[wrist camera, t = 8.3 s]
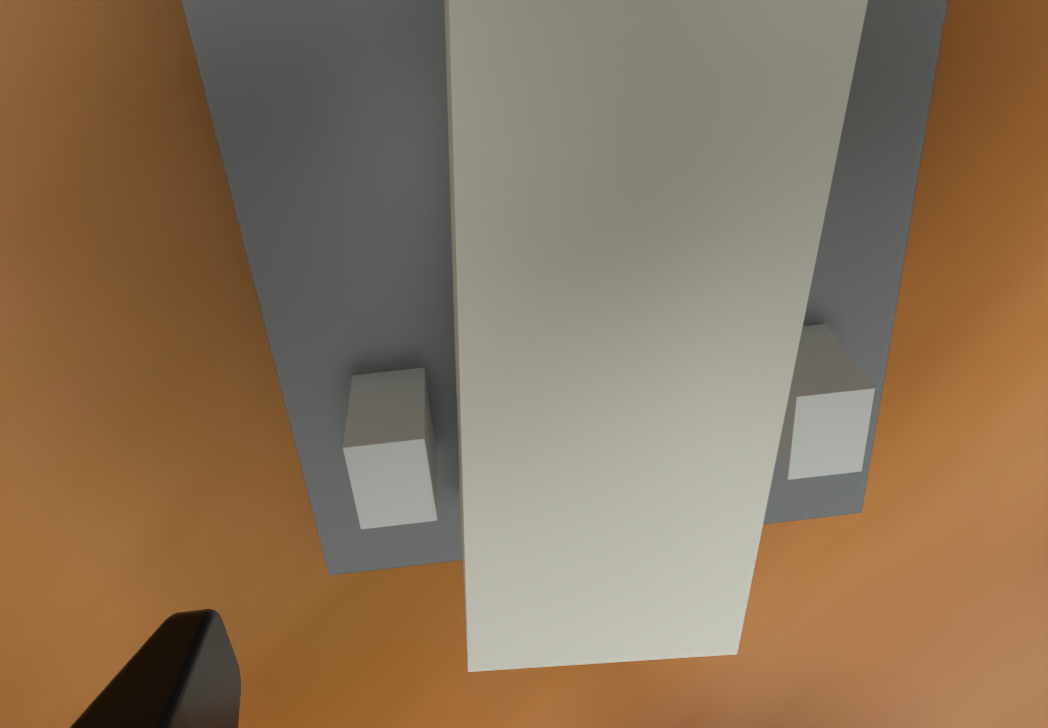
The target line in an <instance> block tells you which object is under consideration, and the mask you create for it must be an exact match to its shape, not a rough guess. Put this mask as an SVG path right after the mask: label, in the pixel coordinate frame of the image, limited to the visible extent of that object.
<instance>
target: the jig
mask: <svg viewBox="0 0 1048 728" xmlns="http://www.w3.org/2000/svg"><path fill="white" fill-rule="evenodd" d="M181 1H182V5H183V9H184V13H185V17H186V21H187V24H188V28H189V32H190V36H191V40H192V44H193V48H194V52H195V56H196V60H197V63H198V67H199V71H200V75H201V79H202V83H203V87H204V91H205V95H206V99H207V102H208V106H209V110H210V114H211V118H212V122H213V126H214V130H215V134H216V138H217V141H218V145H219V149H220V153H221V157H222V161H223V165H224V169H225V173H226V176H227V180H228V184H229V188H230V192H231V196H232V200H233V204H234V208H235V212H236V215H237V219H238V223H239V227H240V231H241V235H242V239H243V243H244V247H245V251H246V254H247V258H248V262H249V266H250V270H251V274H252V278H253V282H254V286H255V290H256V293H257V297H258V301H259V305H260V309H261V313H262V317H263V321H264V325H265V328H266V332H267V336H268V340H269V344H270V348H271V352H272V356H273V360H274V364H275V367H276V371H277V375H278V379H279V383H280V387H281V391H282V395H283V399H284V403H285V406H286V410H287V414H288V418H289V422H290V426H291V430H292V434H293V438H294V442H295V445H296V449H297V453H298V457H299V461H300V465H301V469H302V473H303V477H304V480H305V484H306V488H307V492H308V496H309V500H310V504H311V508H312V512H313V516H314V519H315V523H316V527H317V531H318V535H319V539H320V543H321V547H322V551H323V555H324V558H325V562H326V566H327V570H328V574H329V575H337V574H345V573H354V572H362V571H371V570H379V569H388V568H396V567H405V566H413V565H422V564H430V563H439V562H447V561H456V560H463V557H462V537H461V516H460V495H459V464H458V432H457V399H456V367H455V335H454V302H453V270H452V238H451V205H450V173H449V141H448V108H447V76H446V44H445V11H444V0H181ZM946 6H947V0H868V3H867V8H866V13H865V18H864V23H863V28H862V33H861V38H860V43H859V48H858V53H857V58H856V63H855V68H854V73H853V78H852V83H851V88H850V93H849V98H848V103H847V108H846V113H845V118H844V123H843V128H842V133H841V138H840V143H839V148H838V153H837V158H836V163H835V168H834V173H833V178H832V183H831V188H830V193H829V198H828V203H827V208H826V213H825V218H824V223H823V228H822V233H821V237H820V242H819V247H818V252H817V257H816V262H815V267H814V272H813V277H812V282H811V287H810V292H809V297H808V302H807V307H806V312H805V317H804V322H803V327H802V332H801V337H800V342H799V347H798V352H797V357H796V362H795V367H794V372H793V377H792V382H791V387H790V392H789V397H788V402H787V407H786V412H785V417H784V422H783V427H782V432H781V437H780V442H779V447H778V452H777V457H776V462H775V467H774V472H773V477H772V482H771V487H770V492H769V497H768V502H767V507H766V512H765V517H764V522H763V524H770V523H778V522H787V521H795V520H804V519H812V518H821V517H829V516H838V515H846V514H855V513H862V508H863V502H864V496H865V490H866V484H867V478H868V472H869V466H870V460H871V454H872V448H873V442H874V436H875V430H876V424H877V418H878V412H879V406H880V400H881V394H882V388H883V382H884V376H885V370H886V364H887V358H888V352H889V346H890V341H891V335H892V329H893V323H894V317H895V311H896V305H897V299H898V293H899V287H900V281H901V275H902V269H903V263H904V257H905V251H906V245H907V239H908V233H909V227H910V221H911V215H912V209H913V203H914V197H915V191H916V185H917V179H918V173H919V167H920V162H921V156H922V150H923V144H924V138H925V132H926V126H927V120H928V114H929V108H930V102H931V96H932V90H933V84H934V78H935V72H936V66H937V60H938V54H939V48H940V42H941V36H942V30H943V24H944V18H945V12H946Z"/></svg>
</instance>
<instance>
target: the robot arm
mask: <svg viewBox="0 0 1048 728" xmlns="http://www.w3.org/2000/svg"><path fill="white" fill-rule="evenodd" d="M240 695H241V678H240V671H239V666H238V663H237V660H236V657H235V654H234V651H233V649H232V646H231V643H230V640H229V637H228V635H227V632H226V629H225V626H224V623H223V620H222V618H221V616H220V615H219V614H218V612H217V611H215V610H212V609H205V610H196V611H188V612H180V613H175V614H173V615H171V616H170V617H168V618H167V619H166V620H165V621H164V622H163V623H162V624H161V625H160V627H159V628H158V629H157V630H156V631H155V632H154V633H153V634H152V636H151V637H150V638H149V639H148V640H147V641H146V642H145V644H144V645H143V646H142V647H141V648H140V649H139V650H138V651H137V653H136V654H135V655H134V656H133V657H132V658H131V659H130V660H129V662H128V663H127V664H126V665H125V666H124V667H123V668H122V669H121V671H120V672H119V673H118V674H117V675H116V676H115V677H114V678H113V680H112V681H111V682H110V683H109V684H108V685H107V686H106V687H105V689H104V690H103V691H102V692H101V693H100V694H99V695H98V696H97V698H96V699H95V700H94V701H93V702H92V703H91V704H90V705H89V707H88V708H87V709H86V710H85V711H84V712H83V713H82V714H81V716H80V717H79V718H78V719H77V720H76V721H75V722H74V723H73V725H72V726H71V727H70V728H238V719H239V707H240Z"/></svg>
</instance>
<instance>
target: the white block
mask: <svg viewBox="0 0 1048 728" xmlns="http://www.w3.org/2000/svg"><path fill="white" fill-rule="evenodd" d="M867 3H868V0H444V11H445V44H446V76H447V108H448V141H449V173H450V205H451V238H452V270H453V302H454V335H455V367H456V399H457V432H458V464H459V495H460V516H461V537H462V557H463V578H464V599H465V619H466V640H467V661H468V672H474V671H489V670H505V669H520V668H535V667H550V666H566V665H581V664H596V663H611V662H626V661H642V660H657V659H672V658H687V657H703V656H718V655H733V654H737V651H738V646H739V642H740V637H741V632H742V627H743V622H744V617H745V612H746V607H747V602H748V597H749V592H750V587H751V582H752V577H753V572H754V567H755V562H756V557H757V552H758V547H759V542H760V537H761V532H762V527H763V522H764V517H765V512H766V507H767V502H768V497H769V492H770V487H771V482H772V477H773V472H774V467H775V462H776V457H777V452H778V447H779V442H780V437H781V432H782V427H783V422H784V417H785V412H786V407H787V402H788V397H789V392H790V387H791V382H792V377H793V372H794V367H795V362H796V357H797V352H798V347H799V342H800V337H801V332H802V327H803V322H804V317H805V312H806V307H807V302H808V297H809V292H810V287H811V282H812V277H813V272H814V267H815V262H816V257H817V252H818V247H819V242H820V237H821V233H822V228H823V223H824V218H825V213H826V208H827V203H828V198H829V193H830V188H831V183H832V178H833V173H834V168H835V163H836V158H837V153H838V148H839V143H840V138H841V133H842V128H843V123H844V118H845V113H846V108H847V103H848V98H849V93H850V88H851V83H852V78H853V73H854V68H855V63H856V58H857V53H858V48H859V43H860V38H861V33H862V28H863V23H864V18H865V13H866V8H867Z"/></svg>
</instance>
